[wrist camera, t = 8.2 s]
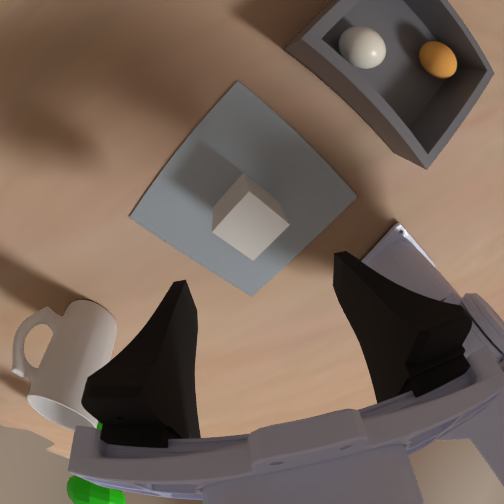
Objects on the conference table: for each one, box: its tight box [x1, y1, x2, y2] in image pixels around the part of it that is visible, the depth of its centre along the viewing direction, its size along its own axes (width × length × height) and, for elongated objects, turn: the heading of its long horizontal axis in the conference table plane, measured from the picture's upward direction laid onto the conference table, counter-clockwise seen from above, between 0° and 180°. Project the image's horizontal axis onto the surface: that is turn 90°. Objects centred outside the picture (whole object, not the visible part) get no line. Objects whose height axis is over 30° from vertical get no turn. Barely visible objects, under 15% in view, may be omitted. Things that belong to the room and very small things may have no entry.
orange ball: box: [419, 41, 457, 79], centre depth 13 cm, size 3×3×3 cm
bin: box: [284, 0, 494, 170], centre depth 13 cm, size 12×12×4 cm
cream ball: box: [339, 26, 386, 69], centre depth 13 cm, size 3×3×3 cm
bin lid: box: [129, 81, 358, 296], centre depth 20 cm, size 13×13×5 cm
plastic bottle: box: [67, 421, 126, 504], centre depth 29 cm, size 10×10×25 cm
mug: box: [11, 300, 117, 431], centre depth 20 cm, size 10×7×12 cm, turn 32°
